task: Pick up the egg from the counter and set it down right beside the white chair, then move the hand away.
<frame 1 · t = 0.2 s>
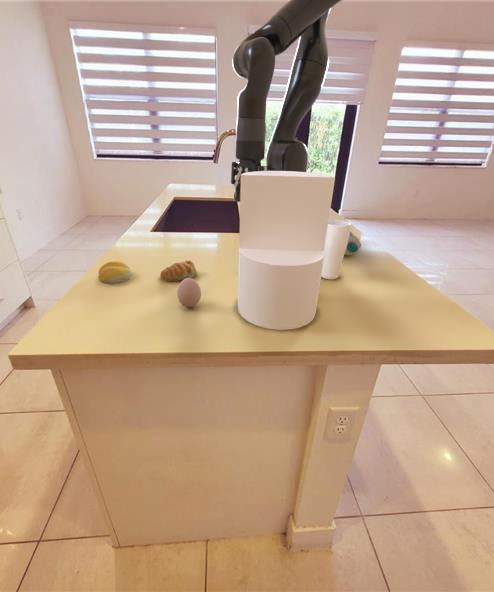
hand: (248, 204, 87), 17 cm above the table, tool pointing down, fingers open, 8 cm apart
bread roll: (115, 278, 83), on the table
detergent: (339, 247, 110), on the table
white chair: (276, 309, 71), on the table
egg: (190, 307, 70), on the table
pastry: (180, 277, 85), on the table
drinking glass: (328, 277, 87), on the table
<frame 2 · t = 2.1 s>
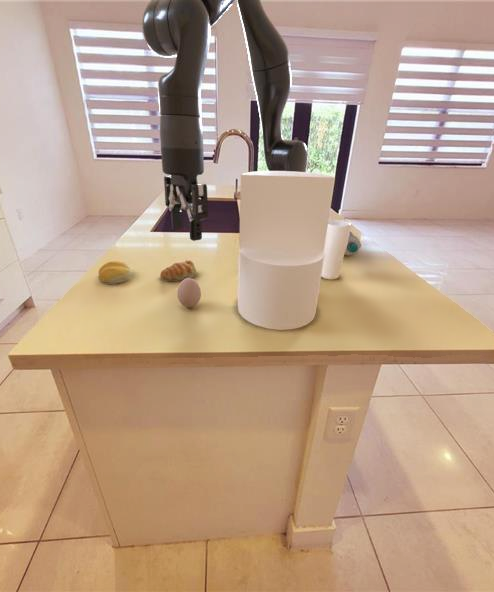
hand: (186, 234, 63), 16 cm above the table, tool pointing down, fingers open, 8 cm apart
nothing on the table moved.
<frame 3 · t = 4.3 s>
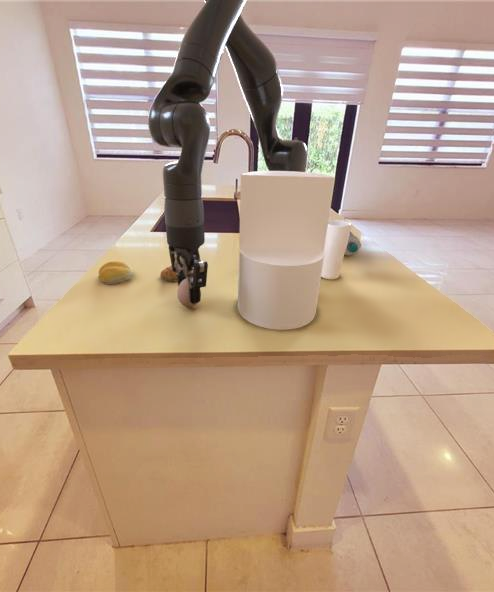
hand: (189, 296, 69), 2 cm above the table, tool pointing down, fingers closed on egg, 5 cm apart
egg: (190, 307, 70), on the table, touching gripper
everything else where it was.
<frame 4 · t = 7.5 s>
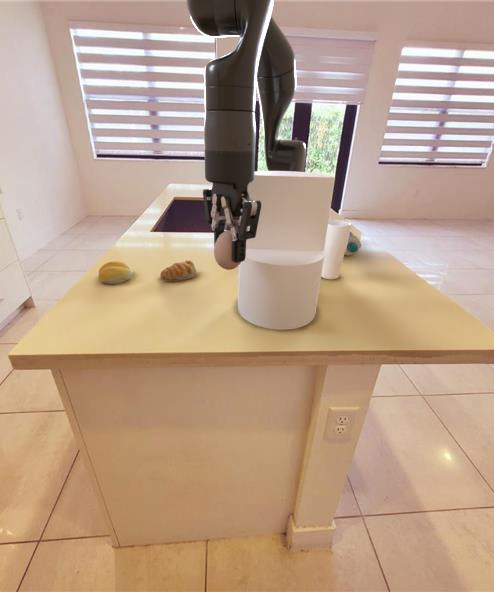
hand: (229, 255, 54), 16 cm above the table, tool pointing down, fingers closed on egg, 5 cm apart
egg: (228, 269, 55), point 13 cm above the table, touching gripper
everything else where it was.
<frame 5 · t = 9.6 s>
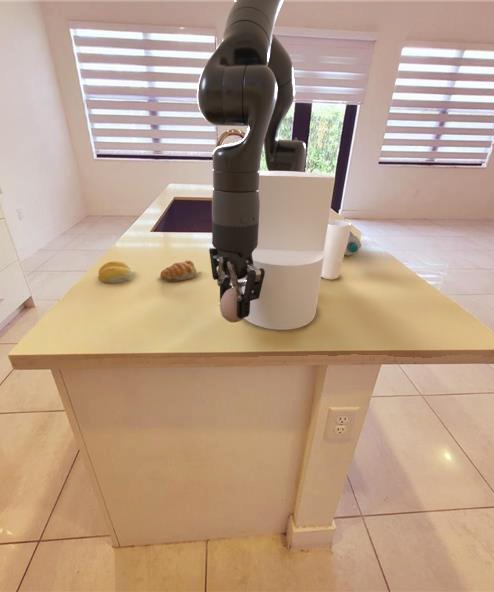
hand: (234, 309, 58), 6 cm above the table, tool pointing down, fingers closed on egg, 5 cm apart
egg: (233, 321, 59), point 3 cm above the table, touching gripper
everything else where it was.
when the fingers open (2 cm above the table, at t = 11.0 s): egg stays where it is, on the table.
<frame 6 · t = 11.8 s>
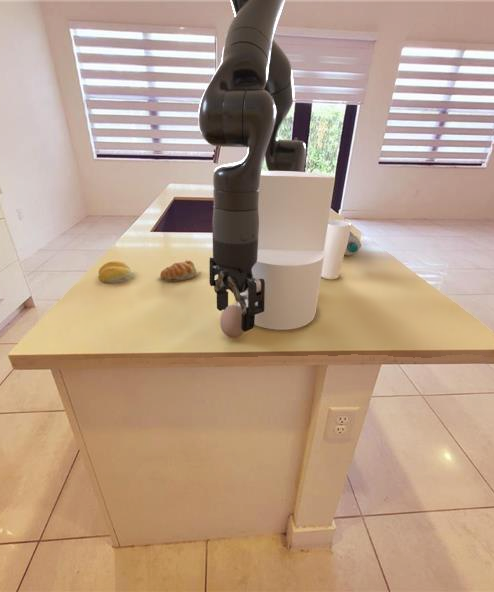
hand: (234, 318, 59), 4 cm above the table, tool pointing down, fingers open, 8 cm apart
egg: (233, 336, 61), on the table
everything else where it was.
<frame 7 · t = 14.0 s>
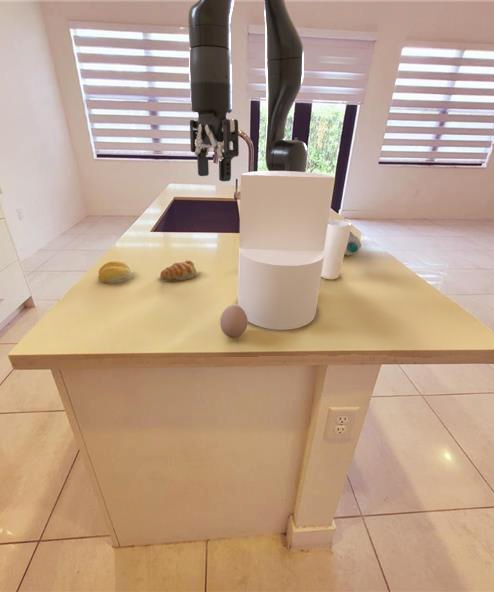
hand: (213, 178, 64), 27 cm above the table, tool pointing down, fingers open, 8 cm apart
nothing on the table moved.
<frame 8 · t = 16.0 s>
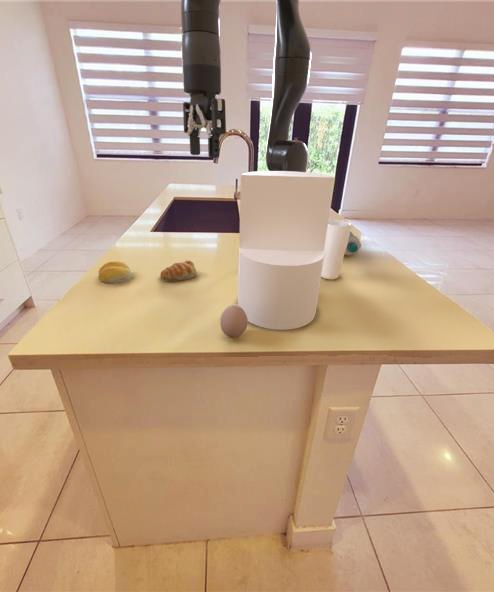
hand: (204, 156, 69), 30 cm above the table, tool pointing down, fingers open, 8 cm apart
nothing on the table moved.
at the end: egg 14.5 cm from the white chair (horizontally); egg moved 15.1 cm from its start; egg on the table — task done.
